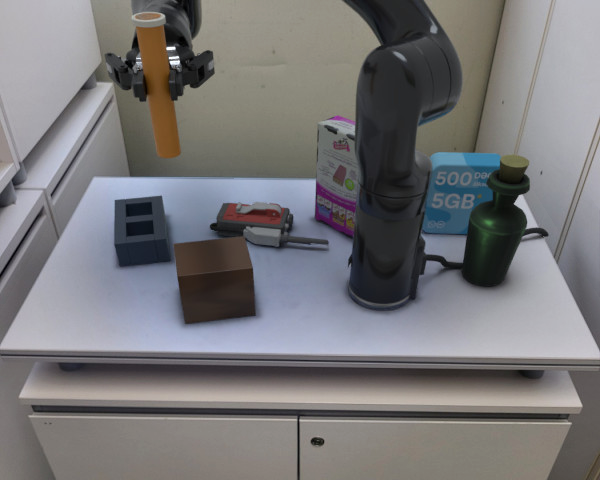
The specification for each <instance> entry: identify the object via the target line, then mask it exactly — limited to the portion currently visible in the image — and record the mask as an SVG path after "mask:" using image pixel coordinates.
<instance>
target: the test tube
mask: <svg viewBox="0 0 600 480" xmlns="http://www.w3.org/2000/svg"><path fill="white" fill-rule="evenodd" d="M165 23H166V19H165V15H164V14H162V13H158V12H142V13H137V14H135V15H131V24H132V25H133V26H135V28H136V31H137V37H138V43H139V49H140V55H141V61H142V67H143V73H144V78H145V84H146V90H147V102H148V108H149V115H150V121H151V126H152V132H153V133H152V134H153V138H154V145H155V149H156V155H157V156H158V157H160V158H163V159H173V158H176V157H179V156H180V155H181V153H182V151H181V150H182V149H181V143H180V136H179V129H178V120H177V112H176V106H175V101H172V100H171V94H170V87H169V73H170V69H169V61H168V54H167V47H166V39H165V32H164V25H163V24H165Z"/></svg>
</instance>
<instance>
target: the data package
mask: <svg viewBox="0 0 600 480" xmlns="http://www.w3.org/2000/svg"><path fill="white" fill-rule="evenodd" d="M501 157H502V156H501V155H500V154H498V153H493V152H491V153H490V152H489V153H488V152H455V151H454V152H452V151H451V152H448V151H446V152H445V151H438V152H435V153H433V154H431V155H430V157H429V158H430V160H431V161H432V165H433V172H432V178H431V184H430V188H429V194H428V200H427V205H426V211H425V217H424V222H423V228H422V231H424V232H425V233H427V234H438V235H439V234H442V235H443V234H446V235H467V231H468V224H469V217H470V213H471V211H472V210H473V209H474V208H475V207H476V206H477V205H479V204H480V203H483V202H487V201H491V200H493V190H491V189H490V188H488V186H487V184H486V182H487V179H488V177H489V176H490V174H491V173H492V172H493V171H495V170H499V169H500V158H501Z"/></svg>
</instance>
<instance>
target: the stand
mask: <svg viewBox="0 0 600 480" xmlns="http://www.w3.org/2000/svg"><path fill="white" fill-rule="evenodd" d="M172 245H173V255H174V263H175V271H176V279H177V284H178V291H179V297H180V303H181V307H182V308H181V309H182V314H183V319H184V324H185V325H189V324H196V323H197V324H198V323H206V322H214V321H221V320H229V319H230V320H231V319H237V318H246V317H252V316H256V315H257V314H256V295H255V278H254V266H253V262H252V259H251V255H250V252H249V248H248V244H247V239H246V238H245V237H244V236H241V237H235V236H230V237H224V238H223V237H222V238H213V239H205V240H203V239H202V240H194V241H183V242H175V243H173V244H172Z"/></svg>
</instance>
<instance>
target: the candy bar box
mask: <svg viewBox="0 0 600 480" xmlns="http://www.w3.org/2000/svg"><path fill="white" fill-rule="evenodd" d="M316 135H317V136H316V137H317V139H316V162H315V163H316V166H315V167H316V169H315V196H314V197H315V198H314V199H315V200H314V219H315V220H316V221H318V222H320V223H322V224H324V225H325V226H328V227H330V229H333V230H335V231H337V232H339V233H341V234H343V235H345V236H347V237H349V238H350V239H353V233H354V222H355V210H356V198H357V186H358V175H359V168H358V164H357V160H356V156H355V120H352V119H350V118H347V117H344V116H341V115H334V116H332V117H329V118H327V119H324V120H321V121H319V122H317V133H316Z"/></svg>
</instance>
